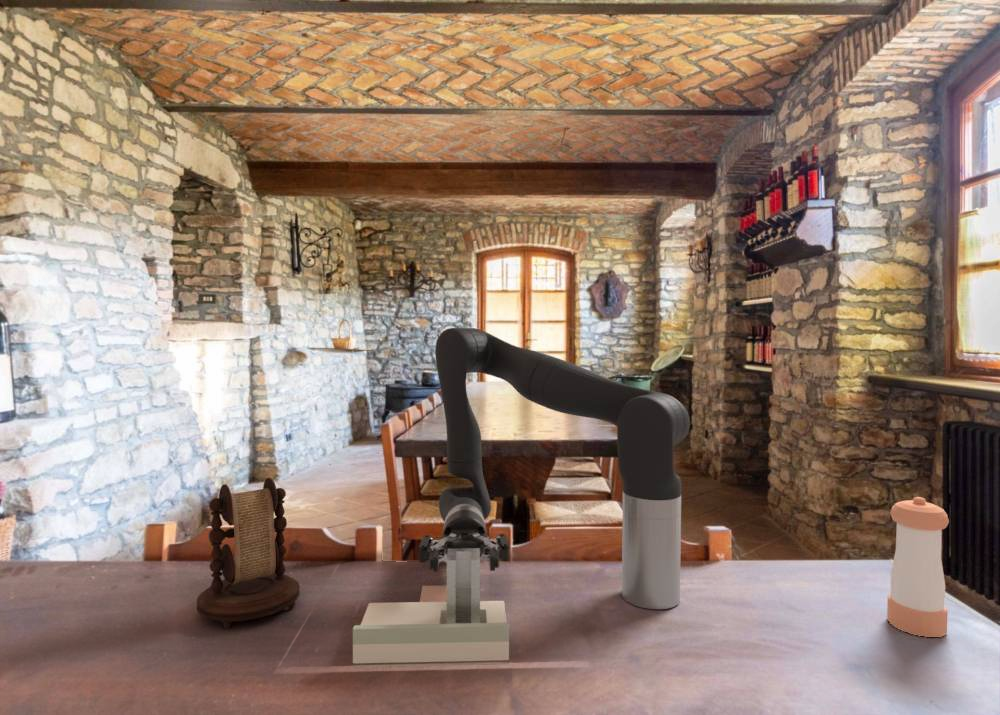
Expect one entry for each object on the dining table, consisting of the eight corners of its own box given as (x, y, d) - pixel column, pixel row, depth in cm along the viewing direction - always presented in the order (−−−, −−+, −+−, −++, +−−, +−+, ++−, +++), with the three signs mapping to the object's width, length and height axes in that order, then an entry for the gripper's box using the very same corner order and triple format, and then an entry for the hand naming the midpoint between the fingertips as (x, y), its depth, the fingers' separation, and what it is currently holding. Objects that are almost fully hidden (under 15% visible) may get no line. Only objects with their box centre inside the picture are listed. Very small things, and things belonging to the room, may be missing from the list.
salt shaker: (939, 620, 89) (943, 494, 89) (953, 642, 83) (956, 506, 82) (883, 611, 92) (886, 489, 92) (891, 631, 86) (894, 500, 85)
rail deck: (369, 622, 88) (369, 589, 88) (503, 620, 89) (504, 587, 89) (352, 667, 76) (352, 629, 76) (508, 664, 77) (509, 626, 77)
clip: (447, 631, 85) (448, 548, 84) (479, 631, 85) (479, 548, 85) (446, 648, 80) (446, 560, 80) (479, 647, 80) (480, 559, 80)
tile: (422, 589, 100) (422, 585, 100) (470, 588, 100) (470, 585, 100) (418, 611, 92) (418, 607, 92) (470, 610, 92) (470, 606, 92)
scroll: (213, 642, 82) (211, 499, 82) (185, 606, 93) (183, 479, 93) (315, 610, 92) (314, 482, 91) (279, 581, 103) (278, 466, 102)
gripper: (424, 509, 104) (416, 541, 88) (504, 508, 105) (512, 539, 89) (424, 551, 105) (416, 590, 88) (504, 550, 105) (511, 589, 89)
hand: (464, 565), depth 89 cm, fingers open, 8 cm apart
